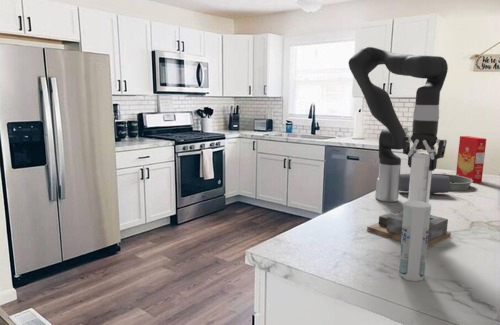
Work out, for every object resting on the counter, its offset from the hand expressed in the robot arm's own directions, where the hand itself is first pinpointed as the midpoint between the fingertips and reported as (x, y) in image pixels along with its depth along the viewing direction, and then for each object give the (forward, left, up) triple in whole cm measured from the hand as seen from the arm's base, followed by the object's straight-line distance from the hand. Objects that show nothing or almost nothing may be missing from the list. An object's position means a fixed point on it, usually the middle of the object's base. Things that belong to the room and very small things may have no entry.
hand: (421, 168), depth 124 cm
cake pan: (-29, +86, -24) cm, 94 cm away
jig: (-3, 0, -24) cm, 24 cm away
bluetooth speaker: (-28, +58, -24) cm, 69 cm away
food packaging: (-28, +111, -24) cm, 117 cm away
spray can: (+15, -29, -24) cm, 40 cm away
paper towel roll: (0, 0, -20) cm, 20 cm away
